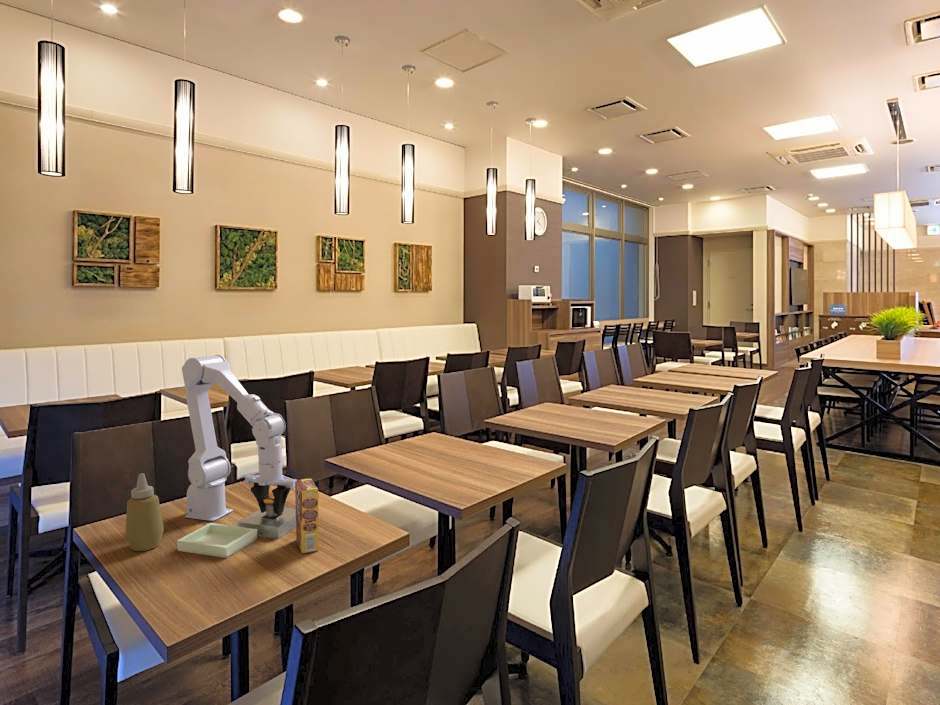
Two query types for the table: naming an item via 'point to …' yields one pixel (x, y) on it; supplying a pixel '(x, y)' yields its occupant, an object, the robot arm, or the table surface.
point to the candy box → (307, 515)
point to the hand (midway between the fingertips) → (272, 512)
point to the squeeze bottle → (143, 517)
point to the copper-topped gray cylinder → (270, 507)
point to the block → (270, 523)
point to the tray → (217, 540)
